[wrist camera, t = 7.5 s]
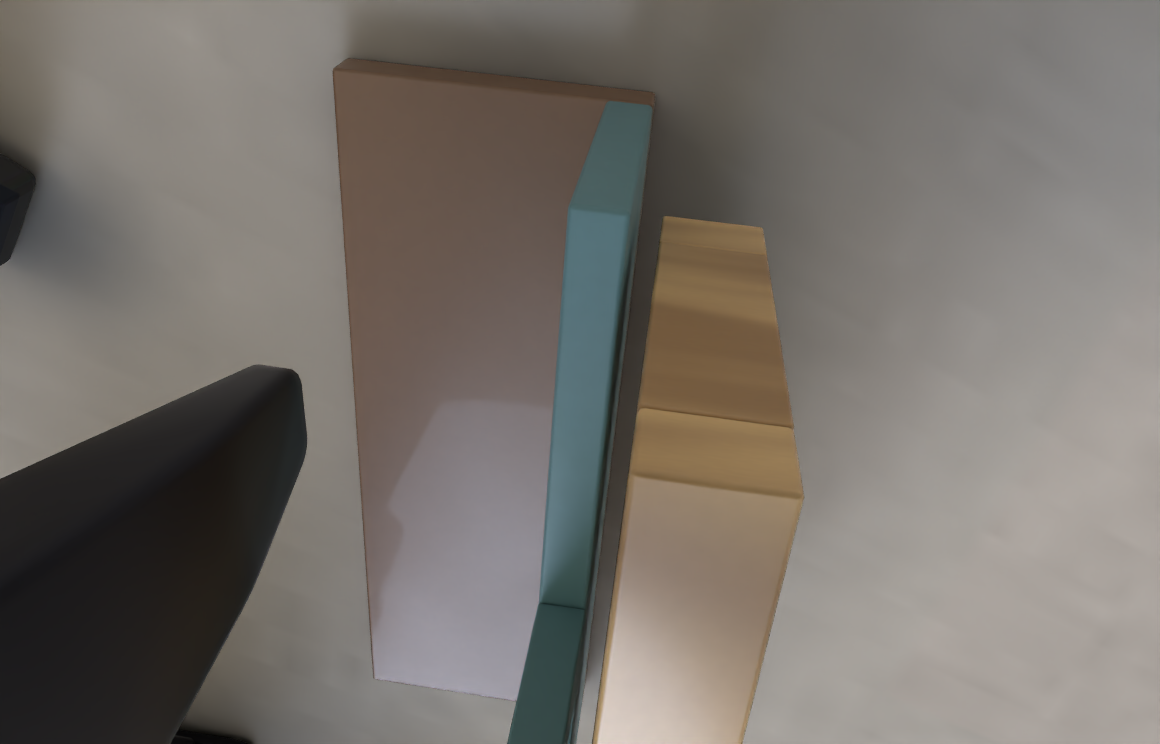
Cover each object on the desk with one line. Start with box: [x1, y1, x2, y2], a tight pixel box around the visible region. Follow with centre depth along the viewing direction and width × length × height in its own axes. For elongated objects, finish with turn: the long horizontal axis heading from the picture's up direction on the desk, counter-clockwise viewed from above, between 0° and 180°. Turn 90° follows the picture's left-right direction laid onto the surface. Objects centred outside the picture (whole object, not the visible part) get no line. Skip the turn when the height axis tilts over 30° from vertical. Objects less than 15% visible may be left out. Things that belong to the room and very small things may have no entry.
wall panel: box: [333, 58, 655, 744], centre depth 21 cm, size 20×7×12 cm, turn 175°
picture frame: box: [592, 216, 804, 744], centre depth 19 cm, size 18×2×9 cm, turn 176°
